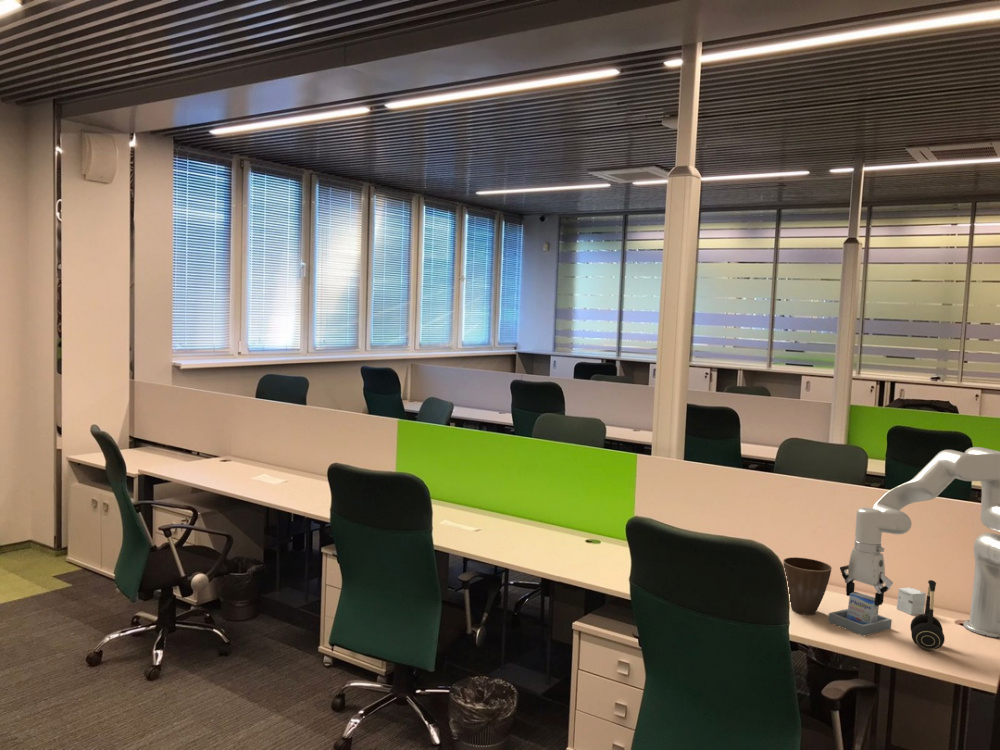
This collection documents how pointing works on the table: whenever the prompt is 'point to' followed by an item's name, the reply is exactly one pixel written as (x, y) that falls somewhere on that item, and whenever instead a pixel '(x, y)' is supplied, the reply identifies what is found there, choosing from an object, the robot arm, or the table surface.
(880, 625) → the desk tray
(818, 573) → the plant pot
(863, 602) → the medicine box
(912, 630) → the headphones
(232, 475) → the table surface
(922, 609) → the skincare box
